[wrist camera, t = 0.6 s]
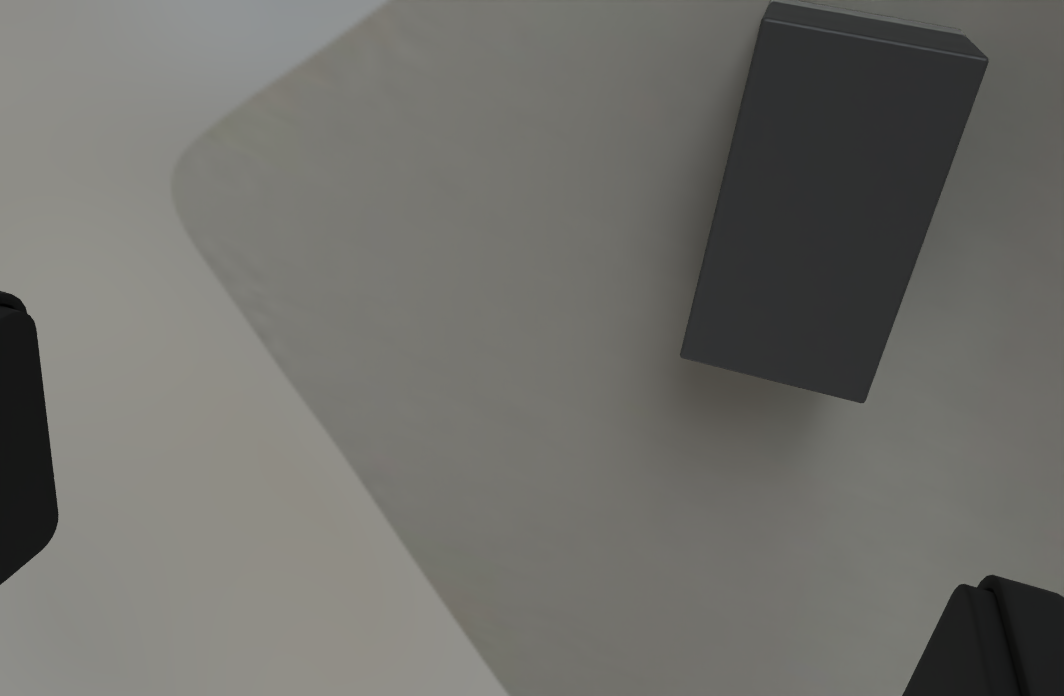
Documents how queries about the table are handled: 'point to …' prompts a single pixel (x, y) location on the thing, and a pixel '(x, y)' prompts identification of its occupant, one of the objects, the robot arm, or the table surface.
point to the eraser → (828, 193)
